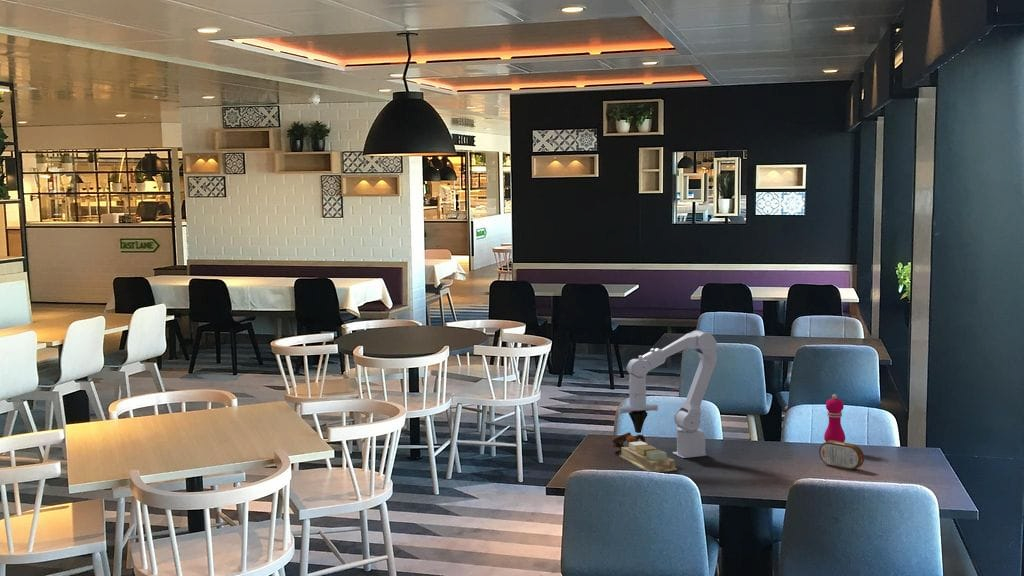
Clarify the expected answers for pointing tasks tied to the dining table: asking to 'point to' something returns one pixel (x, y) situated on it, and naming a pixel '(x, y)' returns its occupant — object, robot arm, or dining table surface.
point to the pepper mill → (834, 420)
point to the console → (647, 461)
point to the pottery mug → (630, 438)
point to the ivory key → (636, 445)
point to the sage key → (656, 455)
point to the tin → (841, 454)
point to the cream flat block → (645, 450)
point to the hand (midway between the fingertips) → (638, 432)
